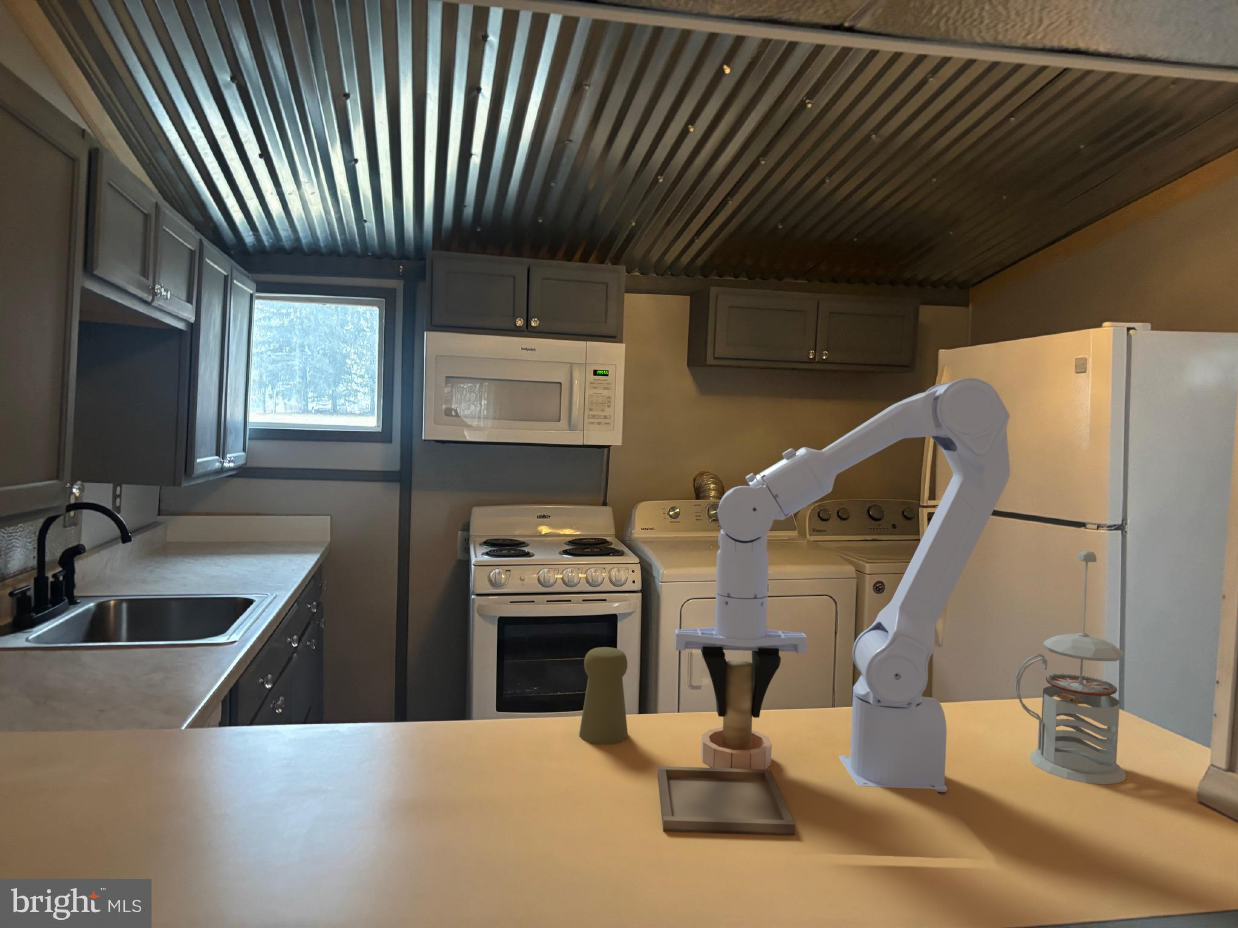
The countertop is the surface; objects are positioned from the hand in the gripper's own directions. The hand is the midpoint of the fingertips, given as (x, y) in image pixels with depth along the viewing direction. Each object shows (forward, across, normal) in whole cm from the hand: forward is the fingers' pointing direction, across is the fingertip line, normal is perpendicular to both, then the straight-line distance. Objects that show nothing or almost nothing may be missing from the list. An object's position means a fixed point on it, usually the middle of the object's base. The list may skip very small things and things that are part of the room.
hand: (737, 714), depth 90 cm
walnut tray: (+6, +3, +11) cm, 13 cm away
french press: (+6, -39, -3) cm, 39 cm away
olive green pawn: (+6, +15, -6) cm, 17 cm away
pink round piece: (+6, 0, 0) cm, 6 cm away
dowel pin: (+3, 0, 0) cm, 3 cm away
